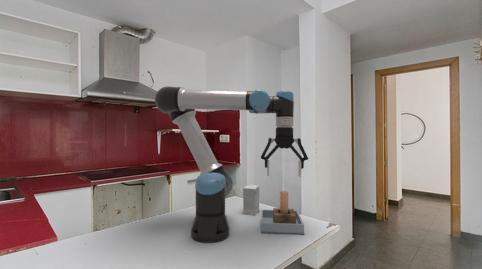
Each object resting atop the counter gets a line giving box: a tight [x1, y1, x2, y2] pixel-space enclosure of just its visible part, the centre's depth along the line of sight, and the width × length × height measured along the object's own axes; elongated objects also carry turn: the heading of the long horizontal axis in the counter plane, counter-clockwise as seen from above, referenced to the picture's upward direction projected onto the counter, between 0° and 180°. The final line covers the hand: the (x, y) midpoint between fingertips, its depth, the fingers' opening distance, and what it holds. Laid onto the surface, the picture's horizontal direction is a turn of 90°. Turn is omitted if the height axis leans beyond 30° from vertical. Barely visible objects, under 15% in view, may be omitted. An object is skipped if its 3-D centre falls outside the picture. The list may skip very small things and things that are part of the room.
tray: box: [260, 209, 305, 236], centre depth 104 cm, size 17×17×4 cm
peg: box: [279, 190, 289, 214], centre depth 104 cm, size 4×4×14 cm
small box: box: [242, 184, 260, 216], centre depth 121 cm, size 8×6×13 cm
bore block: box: [272, 207, 296, 224], centre depth 104 cm, size 9×9×5 cm
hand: (283, 175), depth 104 cm, fingers open, 13 cm apart
